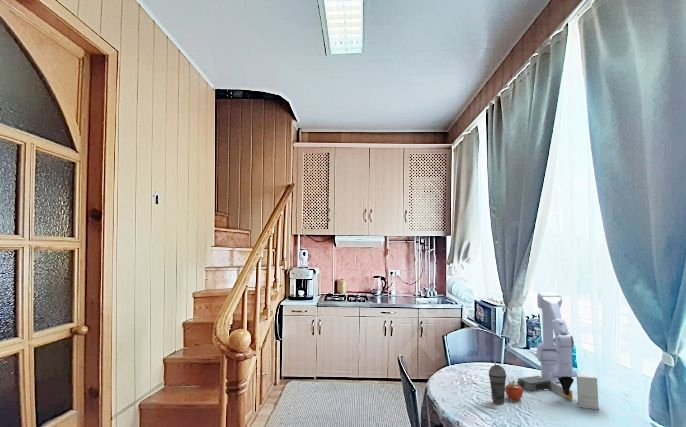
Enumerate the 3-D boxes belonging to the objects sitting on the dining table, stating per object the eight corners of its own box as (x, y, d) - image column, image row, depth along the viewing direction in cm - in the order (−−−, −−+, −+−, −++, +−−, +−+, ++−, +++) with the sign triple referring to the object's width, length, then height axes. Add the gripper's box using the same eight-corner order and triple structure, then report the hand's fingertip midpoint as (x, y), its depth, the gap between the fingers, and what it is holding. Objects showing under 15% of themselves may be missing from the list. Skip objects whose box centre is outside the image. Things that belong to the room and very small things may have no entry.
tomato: (505, 401, 194) (504, 382, 194) (505, 395, 201) (504, 377, 201) (523, 403, 191) (523, 383, 192) (523, 397, 198) (522, 378, 199)
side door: (550, 388, 208) (549, 381, 208) (552, 388, 208) (552, 380, 209) (570, 399, 193) (570, 391, 194) (572, 399, 194) (572, 391, 194)
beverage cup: (505, 406, 187) (503, 357, 188) (487, 403, 191) (485, 355, 192) (509, 401, 193) (507, 353, 195) (491, 398, 197) (490, 351, 198)
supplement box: (597, 404, 189) (595, 373, 190) (599, 410, 182) (597, 378, 183) (577, 401, 192) (576, 371, 193) (578, 407, 185) (576, 376, 186)
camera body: (539, 384, 216) (538, 374, 216) (552, 389, 208) (551, 379, 209) (516, 387, 212) (516, 377, 212) (528, 392, 204) (528, 382, 205)
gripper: (555, 365, 191) (556, 398, 190) (586, 364, 193) (587, 396, 192) (545, 361, 198) (546, 393, 197) (575, 359, 200) (577, 391, 199)
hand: (566, 394), depth 195 cm, fingers closed
